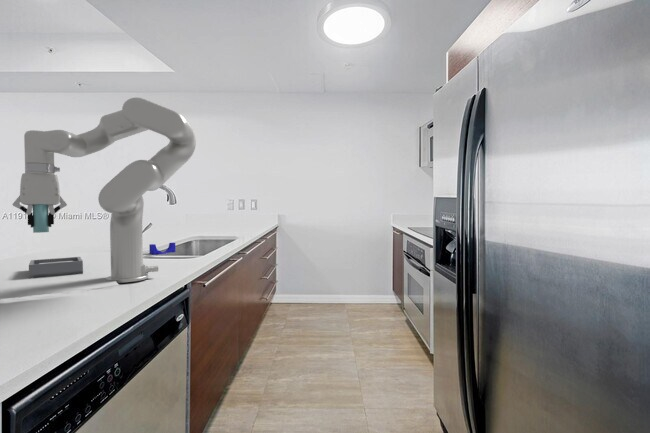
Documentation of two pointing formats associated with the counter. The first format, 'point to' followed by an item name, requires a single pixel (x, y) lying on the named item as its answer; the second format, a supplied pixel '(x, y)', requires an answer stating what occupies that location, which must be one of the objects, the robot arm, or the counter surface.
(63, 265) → the walled box
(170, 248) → the cable clip
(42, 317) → the counter surface
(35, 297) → the counter surface
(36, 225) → the teal cylinder
